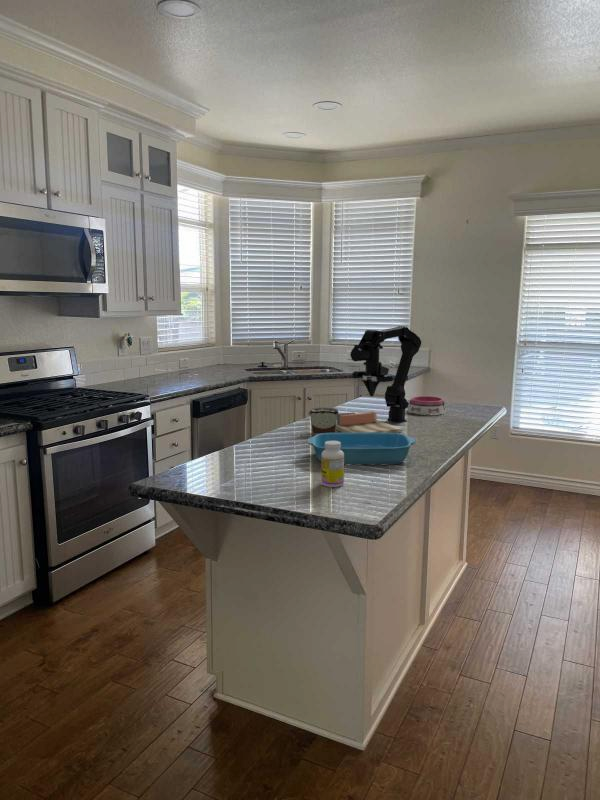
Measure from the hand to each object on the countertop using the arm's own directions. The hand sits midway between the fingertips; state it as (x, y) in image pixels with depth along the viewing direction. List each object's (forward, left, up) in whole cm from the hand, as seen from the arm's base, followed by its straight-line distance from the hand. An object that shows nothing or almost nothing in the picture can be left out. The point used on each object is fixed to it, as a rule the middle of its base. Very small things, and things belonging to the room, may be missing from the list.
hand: (371, 396), depth 253 cm
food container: (+24, +2, -13) cm, 27 cm away
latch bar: (+6, 0, -11) cm, 13 cm away
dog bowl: (-41, -16, -14) cm, 46 cm away
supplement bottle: (+54, +65, -13) cm, 85 cm away
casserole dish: (+31, +43, -14) cm, 55 cm away
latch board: (+6, +6, -13) cm, 16 cm away
